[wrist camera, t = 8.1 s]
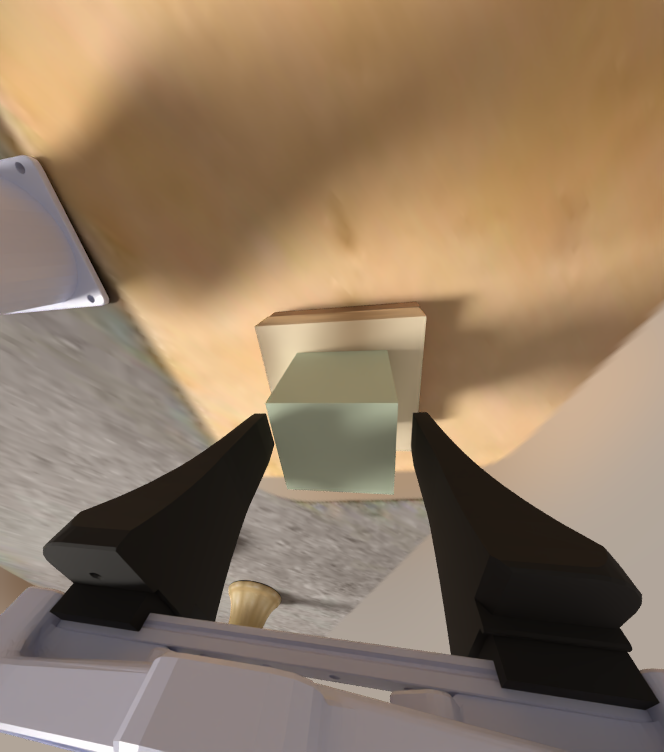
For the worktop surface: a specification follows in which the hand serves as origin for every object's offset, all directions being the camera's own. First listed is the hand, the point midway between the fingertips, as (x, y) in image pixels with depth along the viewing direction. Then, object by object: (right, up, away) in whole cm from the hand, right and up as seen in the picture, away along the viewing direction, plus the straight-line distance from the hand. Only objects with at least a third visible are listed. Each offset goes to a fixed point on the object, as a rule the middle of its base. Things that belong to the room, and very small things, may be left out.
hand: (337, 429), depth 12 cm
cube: (0, +2, +3) cm, 3 cm away
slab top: (+1, +2, +5) cm, 5 cm away
